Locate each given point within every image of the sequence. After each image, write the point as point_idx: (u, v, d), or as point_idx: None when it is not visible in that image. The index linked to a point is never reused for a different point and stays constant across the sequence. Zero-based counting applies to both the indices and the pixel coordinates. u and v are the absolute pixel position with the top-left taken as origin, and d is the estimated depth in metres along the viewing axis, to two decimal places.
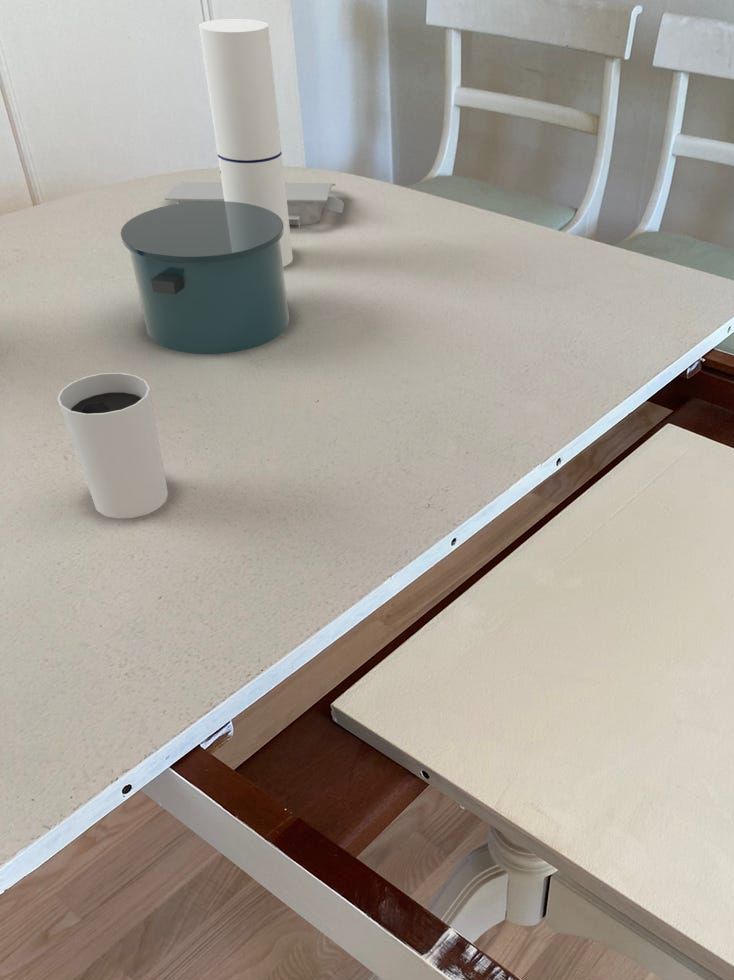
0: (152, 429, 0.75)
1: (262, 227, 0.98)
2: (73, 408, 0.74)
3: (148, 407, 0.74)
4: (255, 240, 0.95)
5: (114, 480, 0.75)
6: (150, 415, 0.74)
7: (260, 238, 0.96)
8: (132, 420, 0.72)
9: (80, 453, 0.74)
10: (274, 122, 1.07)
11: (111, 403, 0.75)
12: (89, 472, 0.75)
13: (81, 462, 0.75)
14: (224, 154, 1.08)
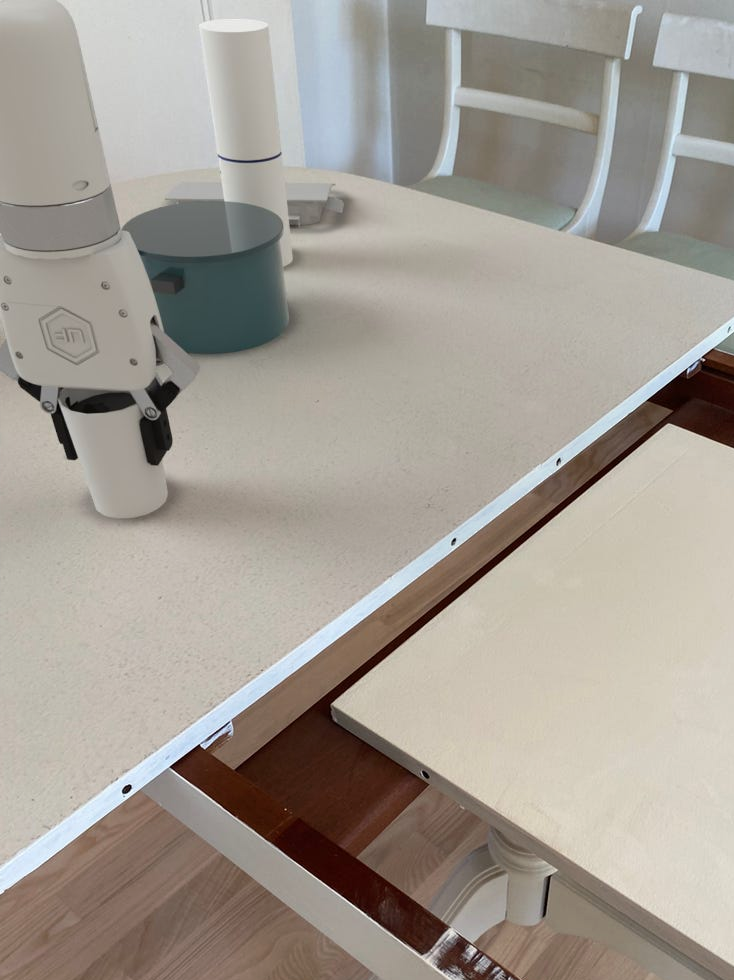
0: None
1: (262, 227, 0.98)
2: (73, 408, 0.74)
3: None
4: (255, 240, 0.95)
5: (114, 480, 0.75)
6: None
7: (260, 238, 0.96)
8: (132, 420, 0.72)
9: (80, 453, 0.74)
10: (274, 122, 1.07)
11: (111, 404, 0.75)
12: (89, 472, 0.75)
13: (81, 462, 0.75)
14: (224, 154, 1.08)
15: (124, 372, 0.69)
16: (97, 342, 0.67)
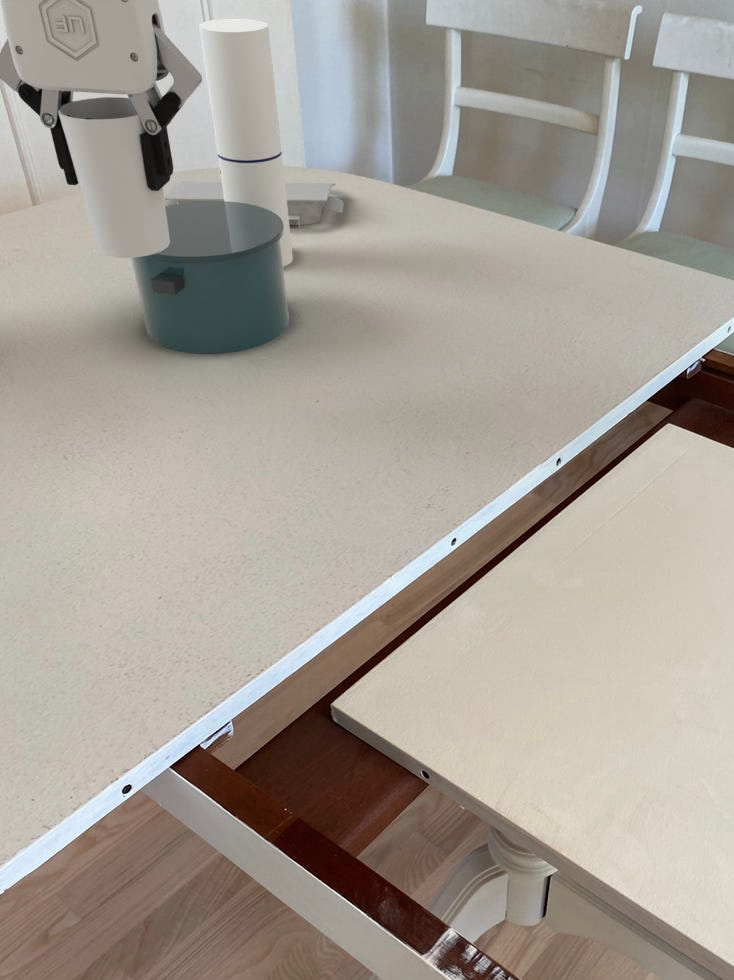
0: None
1: (262, 227, 0.98)
2: None
3: None
4: (255, 240, 0.95)
5: (114, 202, 0.74)
6: None
7: (260, 238, 0.96)
8: (133, 133, 0.71)
9: (80, 171, 0.73)
10: (274, 122, 1.07)
11: None
12: (89, 194, 0.74)
13: (81, 184, 0.74)
14: (224, 154, 1.08)
15: (124, 69, 0.68)
16: (97, 32, 0.67)
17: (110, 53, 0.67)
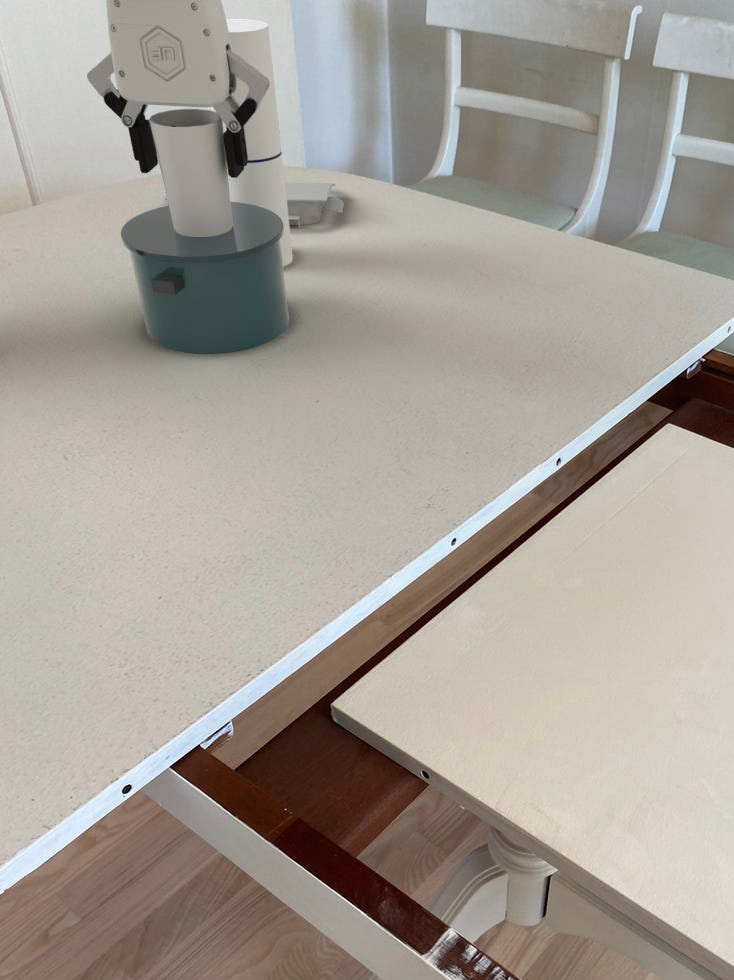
0: (223, 152, 0.93)
1: (262, 227, 0.98)
2: None
3: (221, 130, 0.92)
4: (255, 240, 0.95)
5: (192, 193, 0.93)
6: (222, 138, 0.92)
7: (260, 238, 0.96)
8: (209, 137, 0.90)
9: (166, 168, 0.92)
10: (274, 122, 1.07)
11: None
12: (172, 186, 0.93)
13: (166, 178, 0.93)
14: None
15: (205, 87, 0.87)
16: (185, 59, 0.85)
17: (194, 75, 0.86)
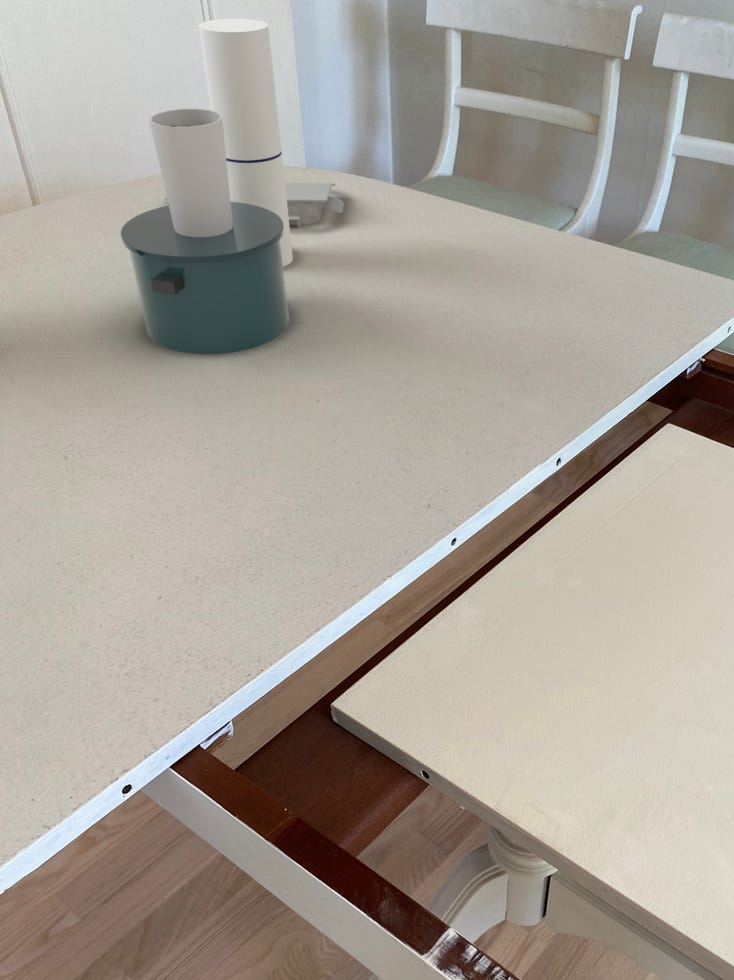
0: (223, 152, 0.93)
1: (262, 227, 0.98)
2: None
3: (221, 130, 0.92)
4: (255, 240, 0.95)
5: (192, 193, 0.93)
6: (222, 139, 0.92)
7: (260, 238, 0.96)
8: (209, 137, 0.90)
9: (166, 168, 0.92)
10: (274, 122, 1.07)
11: None
12: (172, 186, 0.93)
13: (166, 178, 0.93)
14: None
15: None
16: None
17: None
